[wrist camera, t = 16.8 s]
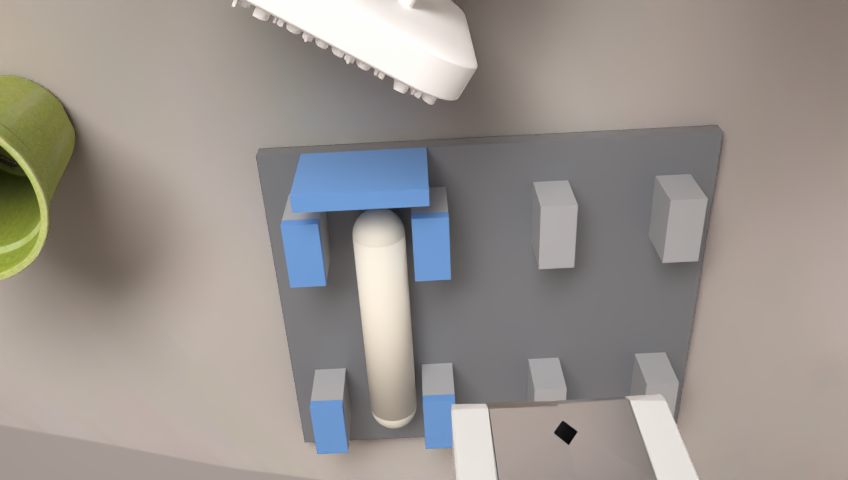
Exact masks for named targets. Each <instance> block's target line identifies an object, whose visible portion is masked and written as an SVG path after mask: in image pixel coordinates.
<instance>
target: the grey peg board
mask: <svg viewBox="0 0 848 480" xmlns="http://www.w3.org/2000/svg"><path fill="white" fill-rule="evenodd" d="M722 137H723V131H722V130H721V129H720V128H719V127H718V125H709V126H690V127H670V128H651V129H632V130H612V131H593V132H573V133H554V134H534V135H515V136H496V137H476V138H457V139H437V140H418V141H399V142H379V143H360V144H340V145H321V146H302V147H282V148H263V149H258V152H257V155H256V160H257V165H258V171H259V177H260V183H261V189H262V195H263V200H264V206H265V212H266V218H267V224H268V230H269V236H270V241H271V247H272V253H273V259H274V265H275V271H276V277H277V282H278V288H279V294H280V300H281V306H282V312H283V318H284V323H285V329H286V335H287V341H288V347H289V353H290V359H291V364H292V370H293V376H294V382H295V388H296V394H297V400H298V405H299V411H300V417H301V423H302V429H303V435H304V441H305V442H315V443H316V450H317V454H331V453H348V449H349V440H365V439H385V438H405V437H425V445H426V449H433V448H452V420H451V407H452V404H486V405H487V403H495V402H533V401H559V400H576V399H594V398H611V397H624V398H625V397H626V396H637V395H653V394H661V395H662V396H663V397H664V398H666V401H667V403H668V405H669V408H670V410H671V412H672V415H673V417H674V419H675V422H676V424H677V418H678V412H679V406H680V399H681V393H682V387H683V381H684V374H685V368H686V362H687V356H688V350H689V343H690V337H691V331H692V325H693V318H694V312H695V306H696V300H697V293H698V287H699V281H700V275H701V268H702V262H703V256H704V250H705V243H706V237H707V231H708V225H709V218H710V212H711V206H712V200H713V193H714V187H715V181H716V175H717V168H718V162H719V156H720V150H721V143H722ZM383 208H386V209H388V210H391V211H393V212H394V213H395V214H396V215H398V217H399V218H400V219H401V221H402V223H403V225H404V229H405V239H406V254H407V268H408V283H409V298H410V313H411V327H412V342H413V357H414V371H415V386H416V401H417V407H416V412H415V415H414V417H413V418H412V420H411V421H410V422H409V423H408V424H406V425H404V426H403V427H400V428H387V427H385V426H383V425H381V424H380V423H379V422H378V421H377V420H376V419H375V418H374V416H373V414H372V410H371V403H370V394H369V385H368V376H367V366H366V357H365V348H364V339H363V329H362V320H361V311H360V302H359V292H358V283H357V274H356V265H355V255H354V246H353V237H352V235H353V226H354V224H355V222H356V220H357V218H358V217H359V216H360V215H361V214H362V213H363V212H365V211H367V210H369V209H383Z"/></svg>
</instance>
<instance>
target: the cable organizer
mask: <svg viewBox="0 0 848 480" xmlns="http://www.w3.org/2000/svg"><path fill="white" fill-rule="evenodd" d="M237 3H238V4H239V5H240V6H242V7H244V8H249V7H250V6H251V5H253V6H255V7H256V8H255V10H254V12H253V15H252V16H254V17H256V18H258V19H260V20H262V21H267V20H268V19H269V17H270V15H272V16H274V17H275V18H274V20H273V23H277V25H278V26H280V27H282V26H283V24H284V22H286V23H287V24H286V28H287V29H288V30H289V31H290V32H292V33H294V34H300V33H301V31H303V32H304V33H303V35H302V38H303V39H304V42H307V41H309V42H312V40H313V38H315V43H316V44H317V45H318V46H319V47H320V48H323V49H327V48H328V46H329V45H330V46H332V49H331V50H332V52H333V53H334V54H335V55H336V56H338V57H340V58H343V56H344V54H346V55H345V57H344V60H346V63H347V64H349V62H350V63H352V64H353V63H354V61H355V59H356V64H357V65H358V67H360V68H361V69H363V70H365V71H368V70H369V69H370V68H371V67H372V68H374V75H375V76H376V75H377V76H378V77H379V78H380V79H382V80H383V78H384V76H385V75H387V76H389V77H391V78H393V79H394V89H395V90H397V91H399V92H401V93H403V94H405V93H406V92H407V91H408V89H409V87H410V93H411V95H413V94H414V96H415V97H417V98H420V96H421V97H422V99H423V100H424V101H425V102H426V103H428V104H431V105H433V104H434V103H435V101H436V99H437V98H438V99H442V100H448V101H454V100H457V99H458V98H459V97H460V96H461V94H462V92H463V91H464V89H465V87H466V86H467V84H468V82H469V81H470V79H471V77H472V76H473V74H474V73H475V71H476V69H477V65H478V64H477V60H476V56H475V52H474V48H473V44H472V40H471V36H470V32H469V28H468V24H467V20H466V16H465V14H464V12H463V11H462V10H461V9H460V8H459V7H458V6H457V5H456V4H455V3H454V2H452V1H451V0H234V1H233V3H232V5H231V6H233V7H235V6H236V4H237Z"/></svg>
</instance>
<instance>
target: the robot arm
mask: <svg viewBox="0 0 848 480" xmlns="http://www.w3.org/2000/svg"><path fill="white" fill-rule="evenodd" d="M451 420H452V450H453V478H454V480H700V478H699V476H698V474H697V471H696V469H695V467H694V464H693V462H692V460H691V457H690V455H689V452H688V450H687V448H686V445H685V443H684V441H683V438H682V436H681V434H680V431H679V429H678V427H677V424H676V422H675V419H674V417H673V415H672V412H671V410H670V408H669V405H668V403H667V401H666V398H664V397H663V396H662V395H661V394H653V395H637V396H626V397H625V398H624V397H611V398H594V399H576V400H559V401H533V402H495V403H487V405H486V404H452V407H451Z"/></svg>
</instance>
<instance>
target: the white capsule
mask: <svg viewBox="0 0 848 480" xmlns="http://www.w3.org/2000/svg"><path fill="white" fill-rule="evenodd" d="M352 237H353V246H354V255H355V265H356V274H357V283H358V292H359V302H360V311H361V320H362V329H363V339H364V348H365V357H366V366H367V376H368V385H369V394H370V403H371V410H372V414H373V416H374V418H375V419H376V420H377V421H378V422H379V423H380V424H381V425H383V426H385V427H387V428H400V427H403V426H404V425H406V424H408V423H409V422H410V421H411V420H412V418H413V417H414V415H415V412H416V407H417V401H416V386H415V371H414V357H413V342H412V327H411V313H410V298H409V283H408V268H407V254H406V239H405V229H404V225H403V223H402V221H401V219H400V218H399V217H398V215H396V214H395V213H394V212H393V211H391V210H388V209H386V208H383V209H369V210H367V211H365V212H363V213H362V214H361V215H360V216H359V217H358V218H357V220H356V222H355V224H354V226H353V235H352Z"/></svg>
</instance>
